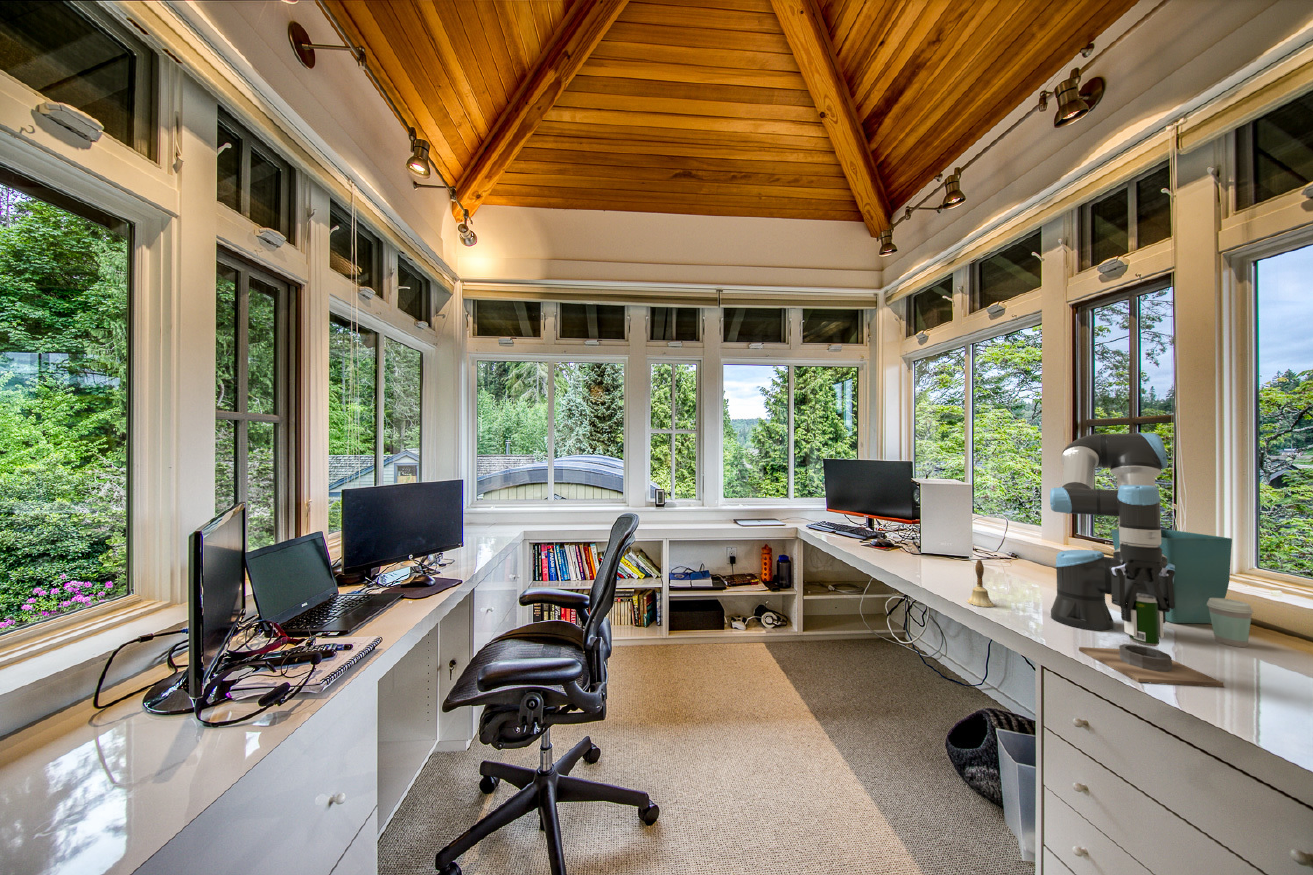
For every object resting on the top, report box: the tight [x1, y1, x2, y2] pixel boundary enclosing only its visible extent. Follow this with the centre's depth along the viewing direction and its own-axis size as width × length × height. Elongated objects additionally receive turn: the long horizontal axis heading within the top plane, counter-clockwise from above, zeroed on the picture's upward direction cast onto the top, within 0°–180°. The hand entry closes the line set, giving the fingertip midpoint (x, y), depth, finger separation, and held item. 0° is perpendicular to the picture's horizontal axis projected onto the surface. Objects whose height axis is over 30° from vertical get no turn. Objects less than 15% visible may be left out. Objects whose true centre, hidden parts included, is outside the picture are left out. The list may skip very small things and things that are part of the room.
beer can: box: [1128, 593, 1160, 647], centre depth 118 cm, size 5×5×12 cm
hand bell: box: [966, 559, 995, 608], centre depth 168 cm, size 8×8×16 cm
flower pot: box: [1110, 528, 1233, 624], centre depth 155 cm, size 20×20×28 cm
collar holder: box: [1078, 643, 1225, 688], centre depth 118 cm, size 18×18×4 cm
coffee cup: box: [1206, 598, 1254, 648], centre depth 133 cm, size 8×8×12 cm
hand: (1143, 634), depth 118 cm, fingers closed on beer can, 5 cm apart
